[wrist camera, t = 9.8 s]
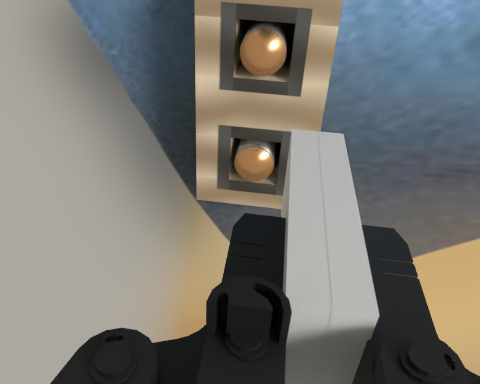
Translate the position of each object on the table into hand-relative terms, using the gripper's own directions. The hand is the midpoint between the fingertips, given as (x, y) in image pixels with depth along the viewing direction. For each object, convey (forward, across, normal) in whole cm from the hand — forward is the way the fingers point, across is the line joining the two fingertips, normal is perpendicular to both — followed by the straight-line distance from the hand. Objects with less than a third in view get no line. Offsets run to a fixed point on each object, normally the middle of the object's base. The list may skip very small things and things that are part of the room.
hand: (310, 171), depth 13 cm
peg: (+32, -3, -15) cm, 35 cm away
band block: (+32, -3, -9) cm, 34 cm away
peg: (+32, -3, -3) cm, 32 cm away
